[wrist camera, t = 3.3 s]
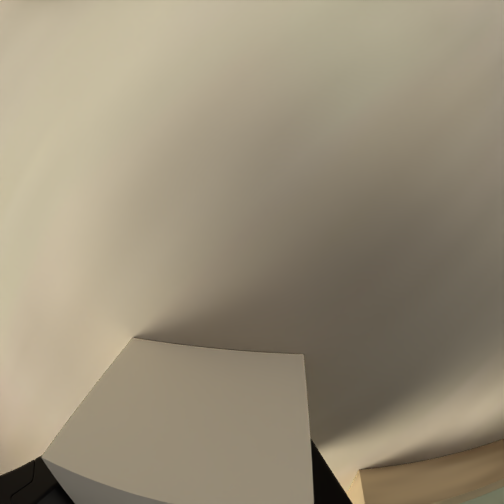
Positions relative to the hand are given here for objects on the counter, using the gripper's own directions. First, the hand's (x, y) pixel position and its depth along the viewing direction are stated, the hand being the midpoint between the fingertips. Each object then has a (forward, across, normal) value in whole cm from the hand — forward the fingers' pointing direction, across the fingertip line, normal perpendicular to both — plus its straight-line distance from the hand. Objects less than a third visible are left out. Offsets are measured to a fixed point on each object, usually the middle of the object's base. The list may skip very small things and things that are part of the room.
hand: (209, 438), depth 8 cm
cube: (+1, 0, 0) cm, 1 cm away
